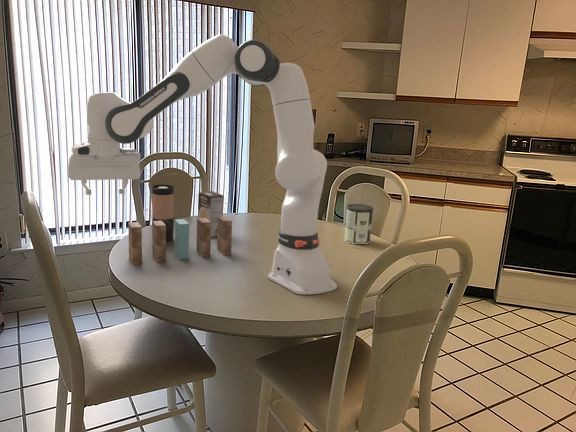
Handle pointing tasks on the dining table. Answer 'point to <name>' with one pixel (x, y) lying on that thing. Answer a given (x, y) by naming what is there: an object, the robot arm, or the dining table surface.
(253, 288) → the dining table surface
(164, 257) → the domino
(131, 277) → the dining table surface
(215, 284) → the dining table surface
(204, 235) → the domino
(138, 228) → the domino far
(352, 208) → the coffee can
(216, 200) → the coffee box
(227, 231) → the domino
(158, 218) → the travel mug
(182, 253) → the domino
